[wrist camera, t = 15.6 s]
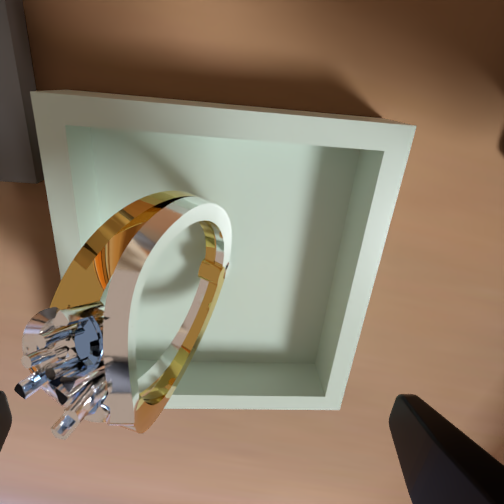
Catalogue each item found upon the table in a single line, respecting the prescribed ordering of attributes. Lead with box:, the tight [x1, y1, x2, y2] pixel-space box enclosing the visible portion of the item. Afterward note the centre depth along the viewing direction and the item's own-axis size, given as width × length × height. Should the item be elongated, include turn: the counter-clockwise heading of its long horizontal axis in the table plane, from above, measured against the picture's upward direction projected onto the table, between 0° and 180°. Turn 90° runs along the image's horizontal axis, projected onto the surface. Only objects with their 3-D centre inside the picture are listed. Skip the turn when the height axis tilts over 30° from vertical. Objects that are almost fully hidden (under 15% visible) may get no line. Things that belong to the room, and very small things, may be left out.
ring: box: [14, 191, 232, 440], centre depth 11 cm, size 7×3×8 cm, turn 165°
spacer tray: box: [30, 90, 416, 410], centre depth 14 cm, size 11×12×2 cm
